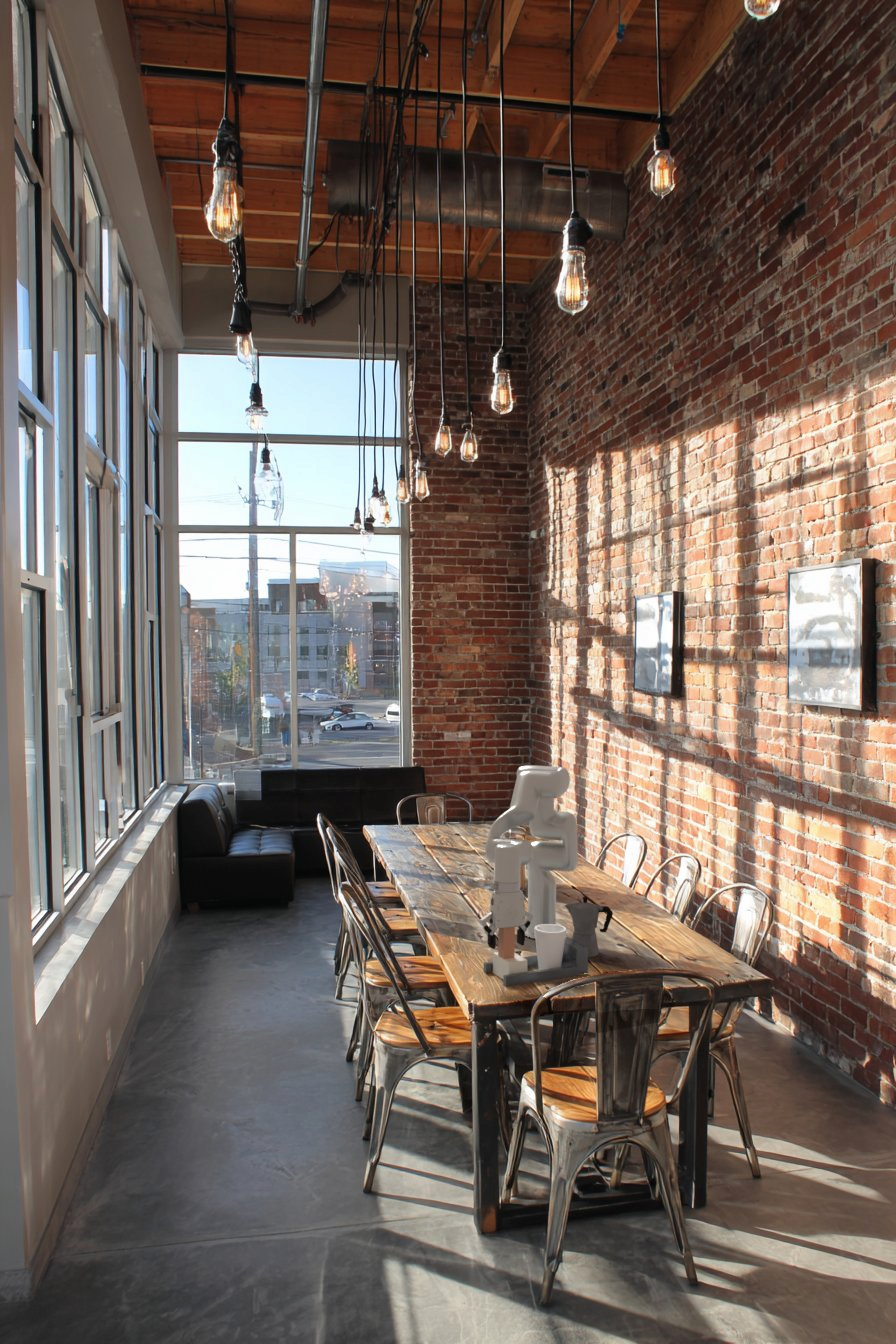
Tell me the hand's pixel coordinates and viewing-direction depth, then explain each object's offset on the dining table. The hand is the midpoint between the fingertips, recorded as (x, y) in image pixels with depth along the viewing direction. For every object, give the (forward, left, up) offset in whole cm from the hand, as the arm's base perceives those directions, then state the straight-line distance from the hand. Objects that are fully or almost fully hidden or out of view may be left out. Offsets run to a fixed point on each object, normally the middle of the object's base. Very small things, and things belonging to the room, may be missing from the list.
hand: (506, 945), depth 275 cm
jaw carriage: (0, +1, -9) cm, 9 cm away
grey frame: (0, +10, -9) cm, 14 cm away
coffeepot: (-11, +35, -10) cm, 38 cm away
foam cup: (0, +15, -10) cm, 18 cm away
